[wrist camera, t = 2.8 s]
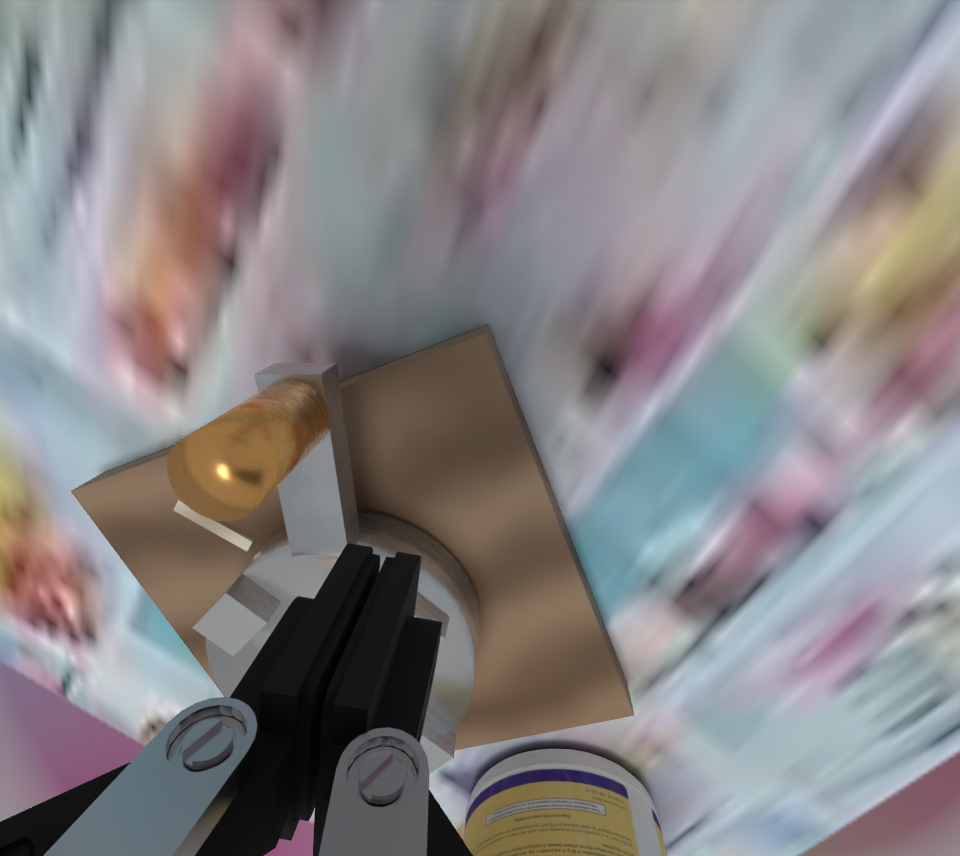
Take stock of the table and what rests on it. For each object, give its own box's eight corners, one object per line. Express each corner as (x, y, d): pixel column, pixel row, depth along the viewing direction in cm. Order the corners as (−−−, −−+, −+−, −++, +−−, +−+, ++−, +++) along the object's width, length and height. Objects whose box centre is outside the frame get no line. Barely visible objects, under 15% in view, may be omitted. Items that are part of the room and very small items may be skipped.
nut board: (102, 472, 27) (67, 493, 25) (488, 324, 22) (484, 334, 20) (302, 751, 33) (287, 785, 31) (627, 684, 29) (634, 718, 27)
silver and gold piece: (483, 704, 27) (466, 896, 19) (271, 692, 28) (174, 870, 20) (469, 349, 20) (433, 428, 12) (187, 352, 21) (-12, 426, 13)
